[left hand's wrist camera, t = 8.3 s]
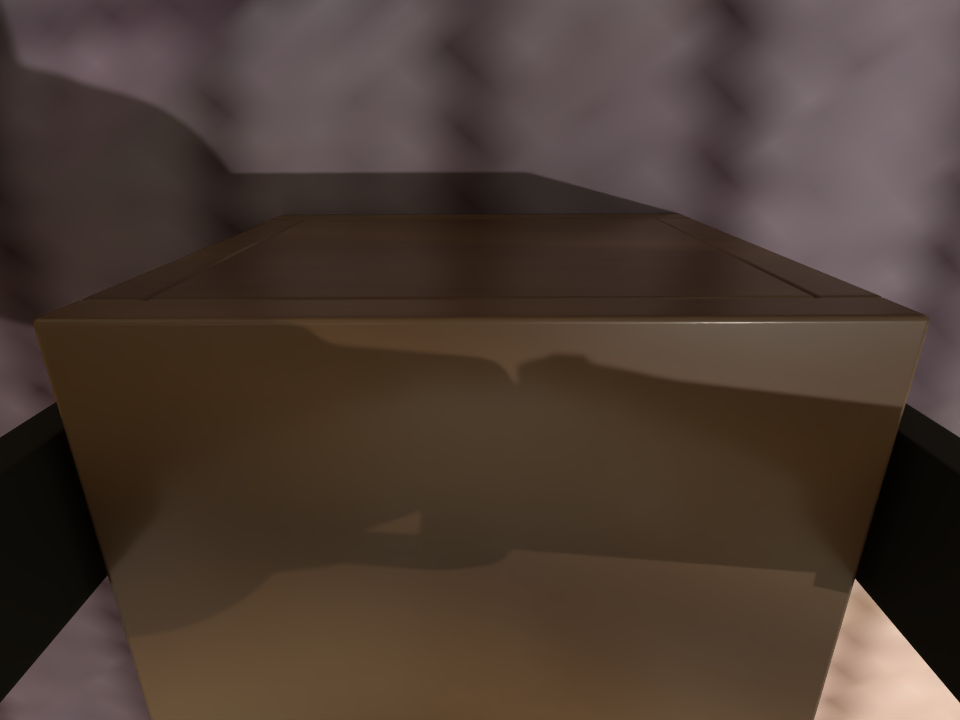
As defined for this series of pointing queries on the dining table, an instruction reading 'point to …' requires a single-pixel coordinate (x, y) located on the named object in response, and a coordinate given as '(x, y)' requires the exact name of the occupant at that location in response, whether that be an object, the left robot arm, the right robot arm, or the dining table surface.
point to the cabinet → (482, 467)
